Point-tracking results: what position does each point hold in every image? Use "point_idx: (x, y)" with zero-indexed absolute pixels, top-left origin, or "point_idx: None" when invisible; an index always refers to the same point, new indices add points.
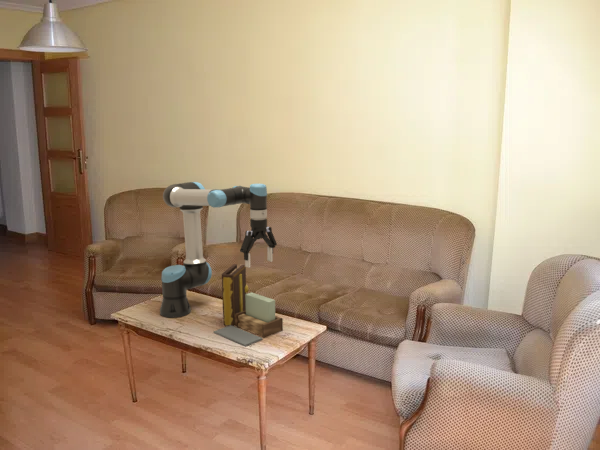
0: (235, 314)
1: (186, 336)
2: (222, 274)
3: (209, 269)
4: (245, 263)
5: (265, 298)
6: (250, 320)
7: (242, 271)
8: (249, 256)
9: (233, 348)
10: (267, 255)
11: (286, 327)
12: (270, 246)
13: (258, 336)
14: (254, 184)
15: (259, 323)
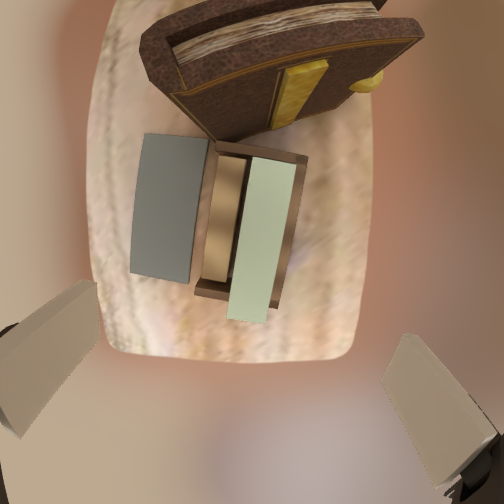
0: (215, 145)
1: (97, 101)
2: (149, 31)
3: None
4: (64, 297)
5: (258, 278)
6: (208, 222)
7: (359, 50)
8: (30, 407)
9: (108, 252)
10: (430, 368)
11: (300, 288)
12: (476, 471)
13: (189, 268)
14: None
15: (205, 265)
